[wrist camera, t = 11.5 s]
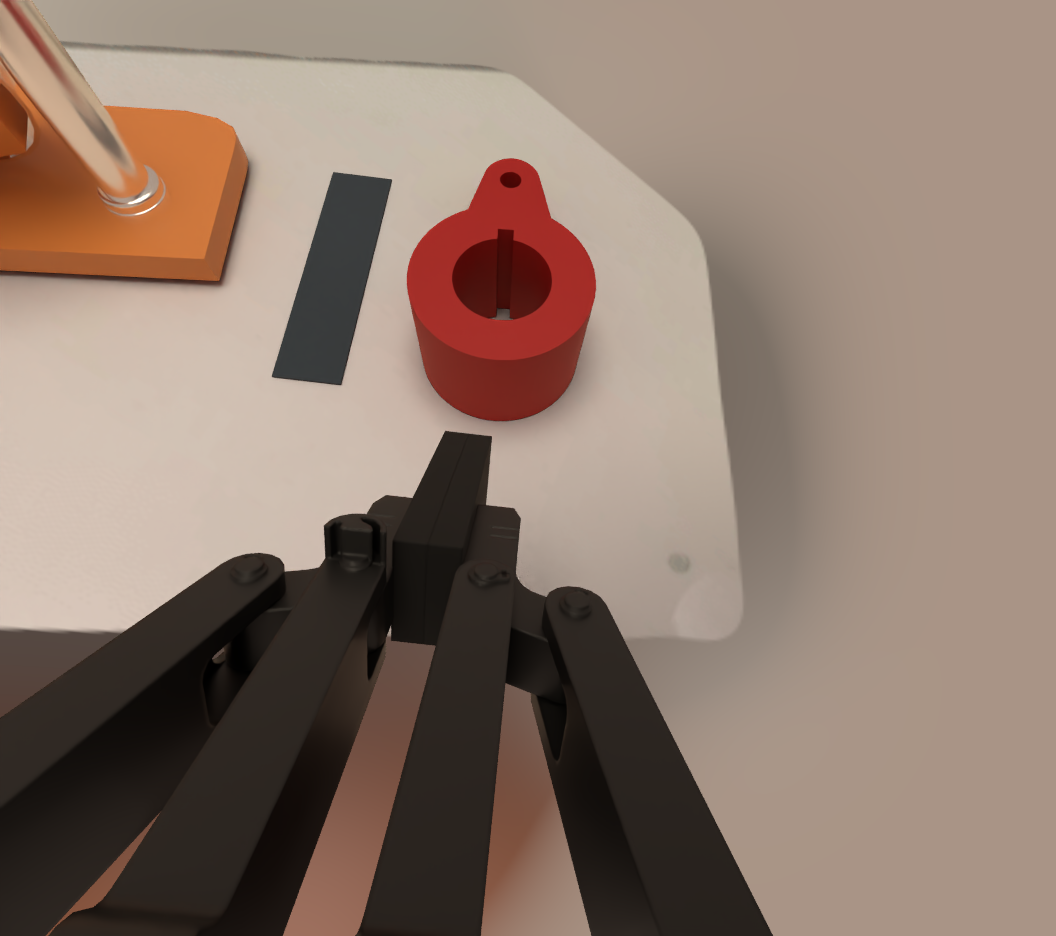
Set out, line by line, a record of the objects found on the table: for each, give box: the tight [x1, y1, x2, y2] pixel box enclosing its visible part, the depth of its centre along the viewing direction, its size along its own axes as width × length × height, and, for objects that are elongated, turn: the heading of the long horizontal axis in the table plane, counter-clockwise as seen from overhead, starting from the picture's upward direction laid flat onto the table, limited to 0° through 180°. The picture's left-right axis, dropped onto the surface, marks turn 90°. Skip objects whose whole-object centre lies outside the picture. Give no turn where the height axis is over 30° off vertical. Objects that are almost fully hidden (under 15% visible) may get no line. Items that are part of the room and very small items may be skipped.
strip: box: [272, 172, 392, 385], centre depth 35 cm, size 4×16×1 cm, turn 174°
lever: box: [407, 158, 596, 421], centre depth 33 cm, size 18×9×7 cm, turn 177°
